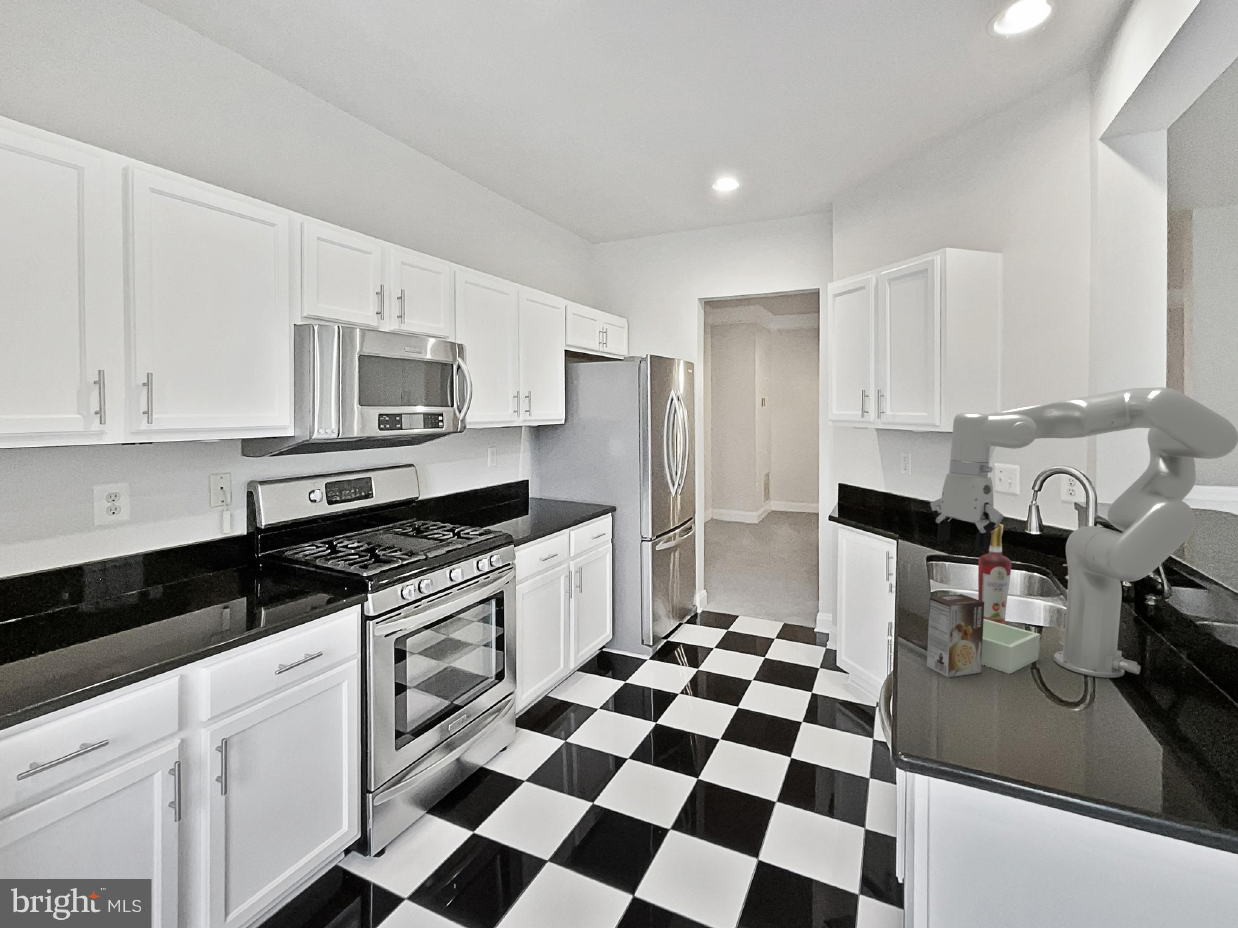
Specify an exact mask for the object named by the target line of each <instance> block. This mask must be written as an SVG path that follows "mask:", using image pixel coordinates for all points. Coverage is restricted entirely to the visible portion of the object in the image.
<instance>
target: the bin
mask: <svg viewBox="0 0 1238 928" xmlns="http://www.w3.org/2000/svg"><path fill="white" fill-rule="evenodd" d="M1040 640H1041V634H1040V633H1037V632H1033V631H1029V630H1027V629H1022V628H1020V627H1019V628H1018V627H1016V626H1012V625H1008V624H1001V623H997V622H994V621H990V620H986V619H984V621H983V641H982V662H981V666H984V665H985V666H984V667H986V668H990V667H991V668H990V669H993V668H994V670H996V671H999V672H1002V671H1003V673H1006V674H1008V675H1010V673H1011V674H1012V673H1015V672H1016V671H1018V670H1020V669H1022V668H1024V667H1027V666H1028V665H1030V664H1032V663H1034V662H1036V661H1038V660H1039V656H1040V643H1041V642H1040Z"/></svg>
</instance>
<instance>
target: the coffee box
mask: <svg viewBox="0 0 1238 928" xmlns="http://www.w3.org/2000/svg"><path fill="white" fill-rule="evenodd" d="M984 603H985V602H983V601H980V600H978V598H974V597H971V596H968V595H965V594H962V593H960V594H959V593H958V594H951V595H950V594H949V595H940V596H932V597H931V596H930V597H929V607H928V630H927V631H928V632H927V634H928V635H927V653H926V655H927V657H926V667H927V668H929V669H931V670H932V671H935V672H937V673H939V674H941V675H943V676H944V677H946V678H954V677H959V676H967V675H972V674H980V673H982V665H981V662H982V641H983V621H984Z"/></svg>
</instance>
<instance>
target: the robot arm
mask: <svg viewBox="0 0 1238 928" xmlns="http://www.w3.org/2000/svg"><path fill="white" fill-rule="evenodd" d="M1142 428H1143V429H1148V431H1147V432H1148V433H1147V444H1148V448H1149V449H1148V450H1149V455H1150V457H1149V463H1148V466H1147V468H1146V469H1145V471H1144V472H1143V473H1142V474H1141V475H1140V476H1139V478H1137V479H1136V480H1135V481H1134V482H1133V483H1132V484H1130V485H1129V487H1127V489H1126V490H1125V491H1124V492H1122V493H1121V494H1120V495H1119V496H1118V497H1117V498H1116V499H1115V500H1114V501H1113V502H1112V503H1111V505H1110V506H1109V508H1108V510H1107V519H1108V522H1109V523H1110V525H1112V526H1113V527H1114V528H1116V529H1118V530H1119V531H1117V530H1112V529H1110V528H1106V527H1101V526H1097V525H1087V526H1081V527H1079V528H1077V529H1075V530H1074V531H1072V532H1071V534H1070V535H1069V536H1068V538H1067V541H1066V543H1065V556H1066V557H1065V558H1066V564H1067V575H1068V578H1067V582H1068V583H1067V592H1066V593H1067V594H1066V595H1067V597H1066V607H1065V608H1066V609H1065V621H1064V622H1065V623H1064V633H1063V635H1064V636H1063V647H1062V648H1063V650H1059V651H1057V652H1055V653H1054V655H1053V660H1054V662H1055V663H1056V664H1058V665H1059V666H1061V667H1063V668H1064V669H1067V670H1069V671H1072V672H1074V673H1077V674H1082V675H1085V676H1089V677H1090V676H1091V677H1096V678H1106V679H1107V678H1109V679H1112V678H1113V679H1114V678H1120V677H1123V676H1124V675H1125V673H1126V672H1125V671H1127V672H1128V673H1132V674H1135V675H1139V674H1140V672H1141V665H1139V664H1138V662H1137V661H1133V660H1130V659H1129V660H1128V659H1125V657H1123V656H1122V654H1123V651H1122V650H1118V642H1119V630H1120V629H1119V628H1120V619H1121V618H1120V617H1121V606H1122V597H1123V591H1122V583H1121V582H1136V581H1139V580H1142V579H1143V578H1146V577H1147V576H1149V575H1150V574H1152V573H1153V572H1154V571H1155V570H1156V569H1157V568H1158V567H1160V566H1161V564H1162V563H1164V562H1165V561H1167V559H1168V558H1169V557H1170V556H1171V555H1172V554H1173V553H1175V552H1176V550H1178V549H1179V548H1180V547H1181V546H1182V545H1183V544H1184V543H1185V542H1186V541H1187V540H1188V539H1189V537H1191V534H1192V533H1193V531H1194V528H1195V524H1196V517H1195V516H1196V515H1195V512H1194V510H1193V509H1192V507H1191V506H1190V505H1189V504H1188V503H1186V502H1185V501H1183V500H1185V498H1186V497H1187V496H1188V495H1189V494H1190V493H1191V492H1192V490H1193V488H1194V486H1195V484H1196V480H1197V473H1196V464H1195V463H1196V461H1195V458H1196V459H1203V460H1214V459H1215V460H1216V459H1219V458H1222V457H1225V456H1227V455H1229V454H1230V453H1232V451H1234V450H1235V448H1236V446H1237V445H1238V431H1237V428H1236V427H1235V425H1234V424H1233V423H1232V422H1231V421H1230V420H1229V419H1227V418H1225V417H1224V416H1223V415H1221V414H1219V413H1217V412H1215V411H1214V410H1212V409H1210V408H1209V407H1207V406H1205V405H1204V404H1202V403H1200V402H1198V401H1197V400H1195V399H1193V398H1192V397H1190V396H1188V395H1186V394H1184V393H1182V392H1181V391H1178V390H1176V389H1172V388H1171V387H1170V388H1169V387H1164V386H1163V387H1137V388H1135V387H1134V388H1128V389H1123V390H1122V389H1121V390H1117V391H1110V392H1106V393H1100V394H1094V395H1089V396H1085V397H1083V396H1082V397H1078V398H1071V399H1067V400H1061V401H1059V400H1058V401H1054V402H1050V403H1044V404H1038V405H1037V404H1036V405H1033V406H1027V407H1018V408H1014V409H1007V410H1002V411H997V412H993V413H988V414H986V413H976V412H975V413H972V412H969V413H968V412H967V413H966V412H961V413H958V414H957V415H955V416H954V418H953V424H952V435H951V445H950V446H951V448H950V459H949V469H948V470H949V471H948V473H946V476H945V479H944V483H943V487H942V491H941V498H939V499H936V500H933V501H931V502H930V507H931V511H932V515H933V516H934V518H935V523H937V524H938V525H937V536H936V538H937V539H936V540H937V541H939V542H943V541H946V542H947V541H949V540H950V536H951V526H952V525H951V523H950V521H951V520H952V519H954V520H958V521H959V520H960V521H965V522H970V523H974V524H975V526H976V527H977V529H978V530H979V531H977V532H976V536H975V538H976V539H975V551H979V552H980V551H981V552H983V551H989V547H990V541H991V532H993V530H994V529H996V528H997V527H998V526H999V524H1001V522H1002V520H1003V519H1004V514H1002V513H1001V512H1000V511H998V509H996V508H995V507H994V486H993V480H992V477H990V476H989V473H992V472H993V471H994V470H993V466H990V455H991V447H998V448H1003V449H1012V450H1013V449H1015V450H1016V449H1022V448H1025V447H1027V446H1030V445H1031V444H1032V443H1033V442H1034V441H1035V439H1076V438H1079V439H1080V438H1085V437H1087V438H1088V437H1090V436H1091V437H1092V436H1097V435H1101V434H1106V433H1112V432H1121V431H1126V430H1131V429H1142ZM1120 531H1122V532H1120Z"/></svg>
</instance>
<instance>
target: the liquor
mask: <svg viewBox="0 0 1238 928" xmlns="http://www.w3.org/2000/svg"><path fill="white" fill-rule="evenodd" d="M1003 533H1004V524H1001V523H999V526H998V527H997V528H996V529H994V530H993V532H991V533H990V540H989V547H988V553H985V554H983V555H981V556H979V557H978V565H977V566H978V574H977V577H978V579H977V582H978V583H977V585H978V586H977V587H978V590H977V591H978V596H977V597H978V598H977V600H980V601H983V602H985V603H984V619H986V620H990V621H994V622H997V623H1001V624H1005V623H1006V613H1007V612H1006V611H1007V604H1008V596H1009V595H1008V594H1009V590H1010V589H1009V587H1010V580H1011V571H1012V563H1013V561H1012V560H1010V558H1008V557H1007V556H1005V555H1003V543H1002V536H1003ZM1005 625H1006V624H1005Z"/></svg>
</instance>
